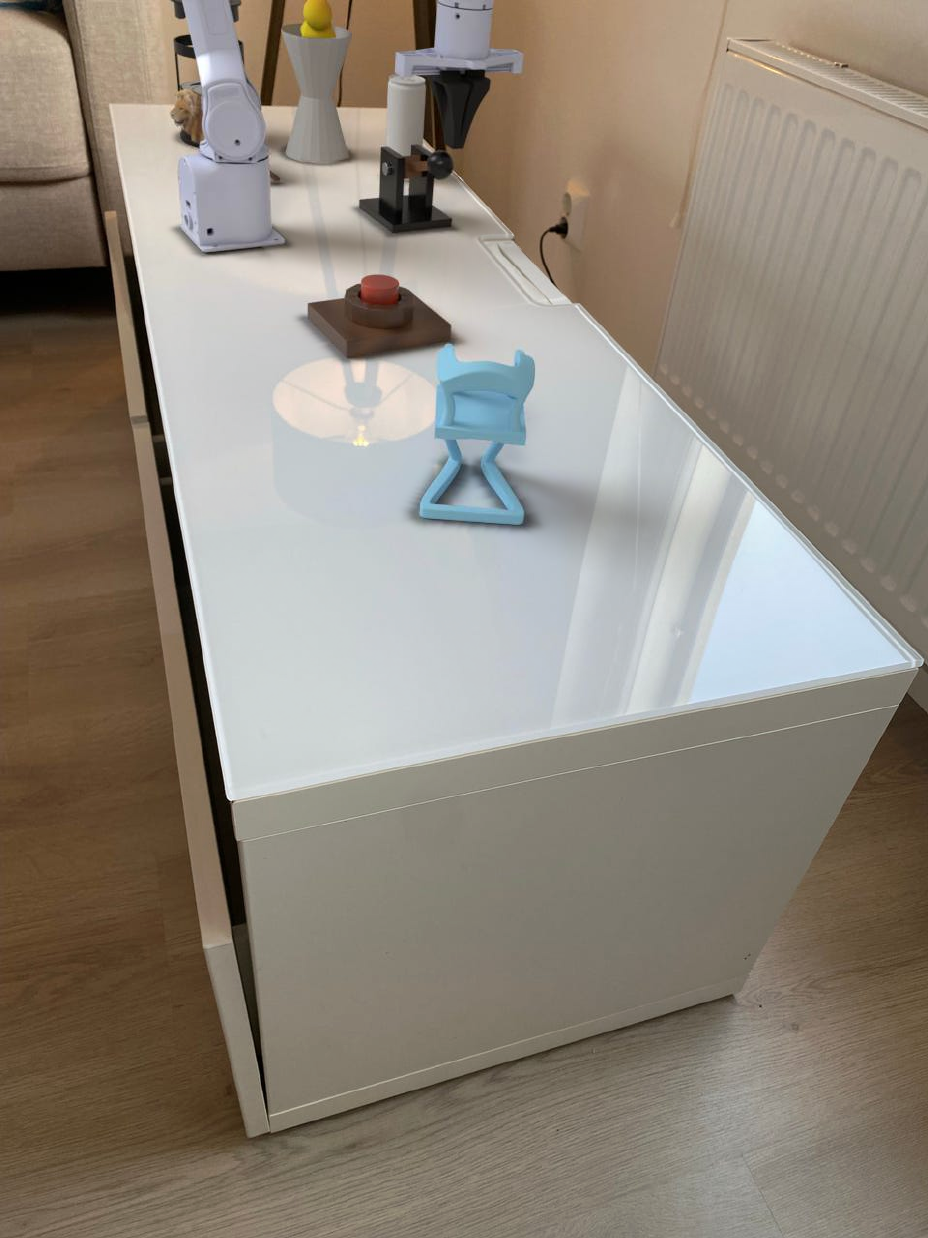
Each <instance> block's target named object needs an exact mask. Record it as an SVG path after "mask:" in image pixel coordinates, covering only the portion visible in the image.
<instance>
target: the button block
mask: <svg viewBox="0 0 928 1238" xmlns="http://www.w3.org/2000/svg"><path fill="white" fill-rule="evenodd" d="M307 320H308V321H309V322H310V323H311V324H312V325H313V326H314V327H315V328H316V329H317V330H318V331H319V332H320V333H321V334H322V335H323V336H324V337H325V339H327V340H328V341H329V342H330V343H331V344H332V346H334V348H336V349H337V350H338V351H339V352H340V353H341V355H343V357H345V358H346V359H350V358H357V357H362V356H363V357H364V356H368V355H375V354H380V353H387V352H393V351H398V350H405V349H411V348H417V347H422V346H429V345H433V344H439V343H446V342H450V341H451V333H452V325H451V323H450V322H448V321H447V320H446V319H444V318H443V316H441V315H440V314H439V313H438V312H436V311H435V310H434V309H432V308H431V307H430V306H429V305H428V304H427V303H425V302H424V301H423V300H421V298H419V297H418V296H417V295H416V294H415V293H413V292H412V291H411V290H410V289H408V288H406V287H403V286H400V285H399V300H398V302H397V303H395V304H390V305H376V304H370V303H367V302H364V301H362V300H361V282H359V283H355V284H354V285H352V286H349V287H348V288H346V289H345V294H344V297H341V298H334V299H327V300H320V301H311V302H307Z"/></svg>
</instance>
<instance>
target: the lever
mask: <svg viewBox="0 0 928 1238" xmlns="http://www.w3.org/2000/svg"><path fill="white" fill-rule="evenodd" d="M431 153H432V154H431V155H430V156H429V158H428V161H422V162H421V159H420V155H413V156H404V157H405V176H404V179H409V178H421V177H422V172H421V171H428V172H429V174H430V175H431V176H432V177H433V178H434V180H440V181H442V180H443V181H444V180H446V179H447V178H449V177H450V176H451V175H452V174H453V171H454V168H455V163H454V159H453V157H452V155H451V154H450V153H449V152H447V151H445V150H442V149H439V150H435V151H433V152H431Z"/></svg>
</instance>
